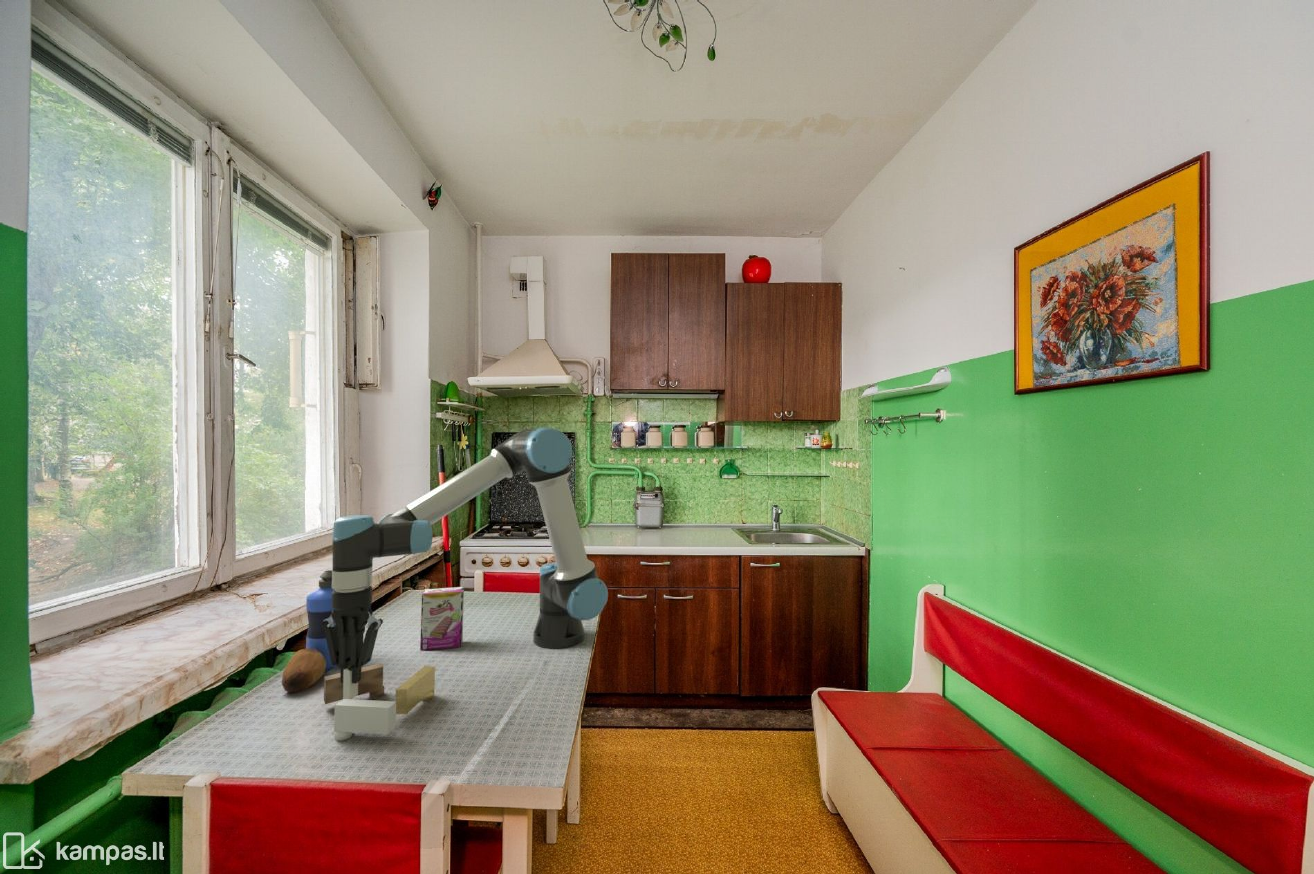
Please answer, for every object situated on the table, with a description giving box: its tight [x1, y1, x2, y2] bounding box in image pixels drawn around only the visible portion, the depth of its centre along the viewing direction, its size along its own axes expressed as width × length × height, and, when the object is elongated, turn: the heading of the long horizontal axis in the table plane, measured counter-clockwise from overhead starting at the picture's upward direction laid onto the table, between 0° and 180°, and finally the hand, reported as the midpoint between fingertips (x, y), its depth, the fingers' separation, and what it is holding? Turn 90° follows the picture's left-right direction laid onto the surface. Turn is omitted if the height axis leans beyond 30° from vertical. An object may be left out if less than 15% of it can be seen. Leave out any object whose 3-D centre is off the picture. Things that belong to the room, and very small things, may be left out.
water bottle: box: [305, 569, 338, 675], centre depth 131 cm, size 9×9×25 cm
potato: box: [281, 647, 326, 694], centre depth 120 cm, size 8×13×8 cm
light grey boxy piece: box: [333, 698, 397, 742], centre depth 97 cm, size 12×3×7 cm, turn 85°
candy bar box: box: [419, 586, 465, 652], centre depth 145 cm, size 11×5×16 cm, turn 108°
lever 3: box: [394, 665, 436, 715], centre depth 109 cm, size 12×3×7 cm, turn 175°
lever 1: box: [323, 662, 385, 705], centre depth 111 cm, size 12×3×7 cm, turn 130°
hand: (350, 697), depth 108 cm, fingers closed
